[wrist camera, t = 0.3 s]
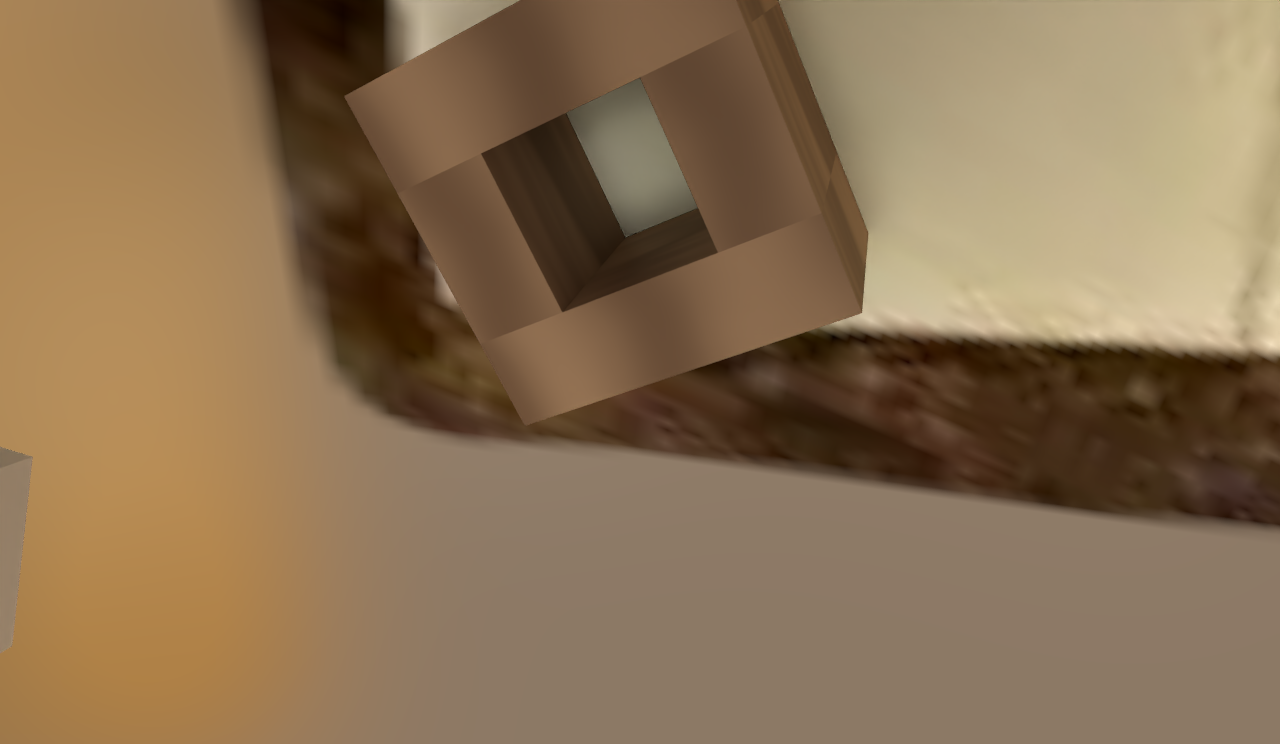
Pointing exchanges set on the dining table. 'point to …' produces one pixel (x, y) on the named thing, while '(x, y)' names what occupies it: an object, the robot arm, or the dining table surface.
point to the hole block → (579, 212)
